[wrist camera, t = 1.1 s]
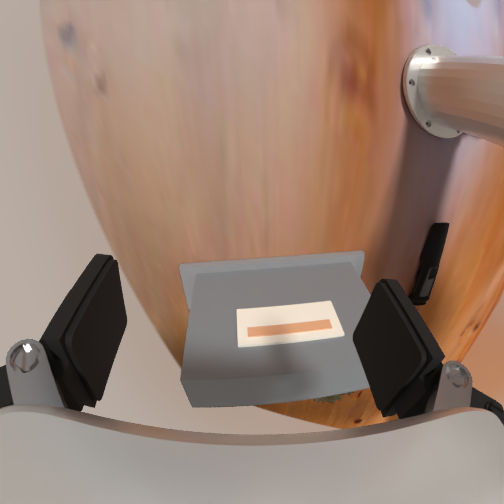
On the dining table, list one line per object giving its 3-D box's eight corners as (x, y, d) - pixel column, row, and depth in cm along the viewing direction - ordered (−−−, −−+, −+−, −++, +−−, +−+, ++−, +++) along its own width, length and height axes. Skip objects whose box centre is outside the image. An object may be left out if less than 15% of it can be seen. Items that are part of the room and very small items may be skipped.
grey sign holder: (362, 250, 37) (423, 342, 22) (354, 291, 40) (400, 383, 26) (180, 263, 36) (154, 372, 22) (189, 305, 40) (175, 411, 25)
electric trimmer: (445, 215, 35) (457, 224, 33) (421, 298, 43) (429, 309, 40) (427, 214, 35) (439, 224, 33) (404, 300, 43) (412, 312, 40)
